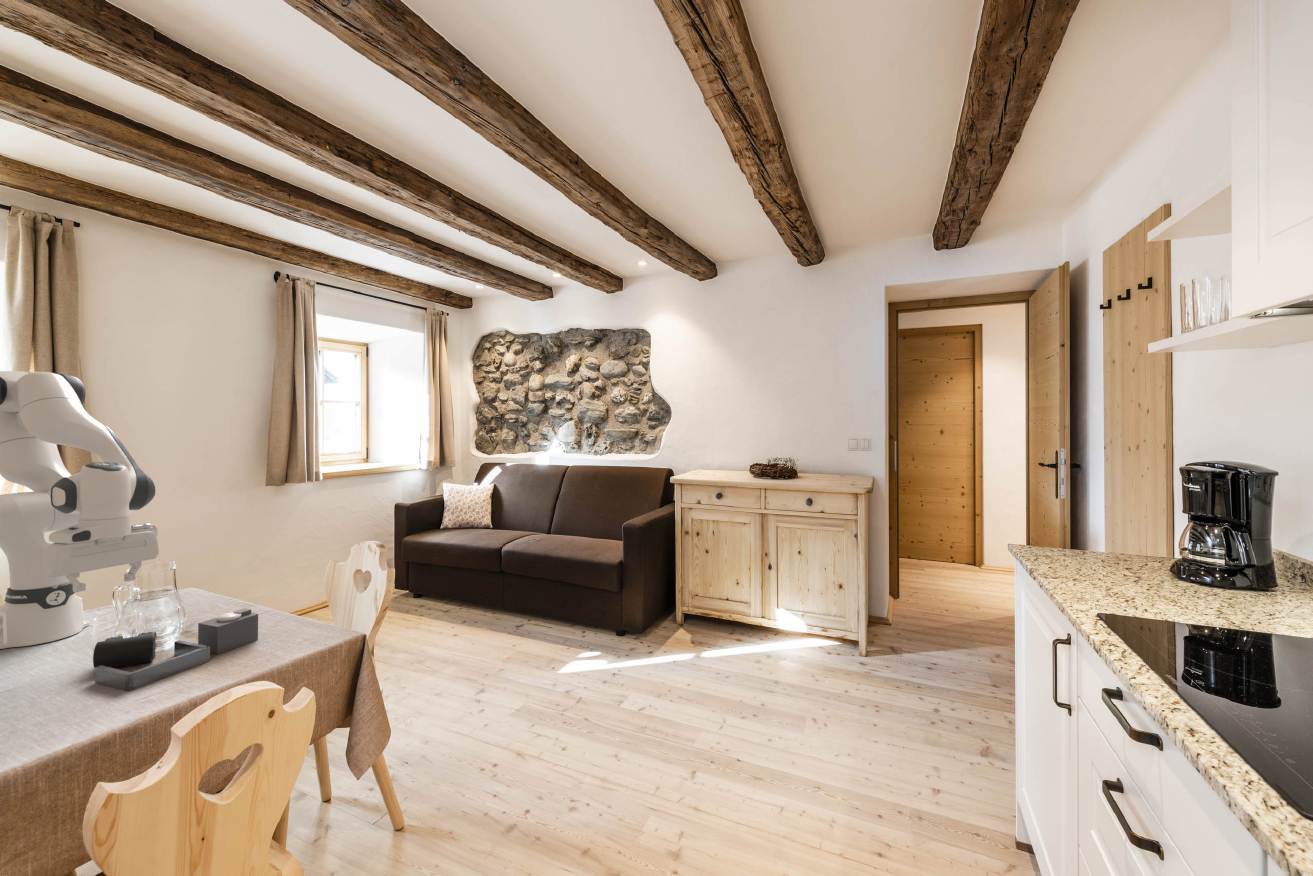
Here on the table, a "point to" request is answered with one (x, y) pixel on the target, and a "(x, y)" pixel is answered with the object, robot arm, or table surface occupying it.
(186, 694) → the table surface
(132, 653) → the end cap
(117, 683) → the tray
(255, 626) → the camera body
